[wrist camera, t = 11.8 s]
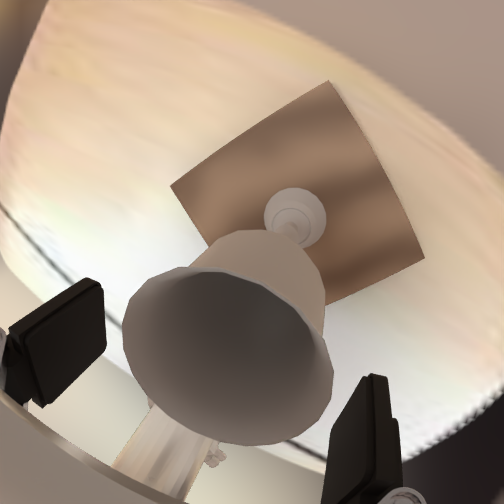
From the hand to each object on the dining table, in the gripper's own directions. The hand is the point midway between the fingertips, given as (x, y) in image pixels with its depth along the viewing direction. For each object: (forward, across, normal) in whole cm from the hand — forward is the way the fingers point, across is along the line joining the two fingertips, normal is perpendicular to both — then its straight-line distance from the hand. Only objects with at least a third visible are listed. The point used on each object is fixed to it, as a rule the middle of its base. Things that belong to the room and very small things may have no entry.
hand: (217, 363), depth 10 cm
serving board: (+19, 0, -1) cm, 19 cm away
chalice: (+17, 0, -1) cm, 17 cm away
